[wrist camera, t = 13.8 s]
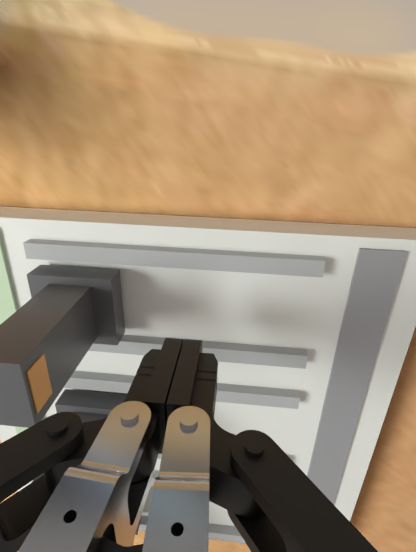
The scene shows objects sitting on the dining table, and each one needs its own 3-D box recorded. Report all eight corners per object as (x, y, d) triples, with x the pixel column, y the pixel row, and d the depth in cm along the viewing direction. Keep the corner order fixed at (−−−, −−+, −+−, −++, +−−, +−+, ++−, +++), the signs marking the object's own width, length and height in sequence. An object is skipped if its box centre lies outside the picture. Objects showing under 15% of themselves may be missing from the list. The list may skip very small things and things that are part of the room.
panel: (422, 228, 17) (594, 333, 8) (332, 524, 27) (372, 701, 19) (-42, 204, 18) (-268, 271, 10) (38, 490, 28) (-44, 639, 20)
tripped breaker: (119, 269, 16) (47, 356, 10) (125, 331, 18) (65, 439, 12) (40, 264, 17) (-75, 346, 11) (52, 326, 18) (-42, 428, 12)
